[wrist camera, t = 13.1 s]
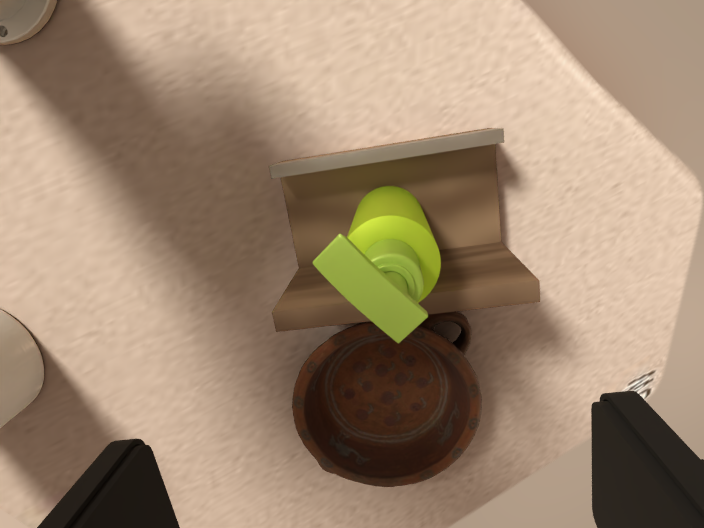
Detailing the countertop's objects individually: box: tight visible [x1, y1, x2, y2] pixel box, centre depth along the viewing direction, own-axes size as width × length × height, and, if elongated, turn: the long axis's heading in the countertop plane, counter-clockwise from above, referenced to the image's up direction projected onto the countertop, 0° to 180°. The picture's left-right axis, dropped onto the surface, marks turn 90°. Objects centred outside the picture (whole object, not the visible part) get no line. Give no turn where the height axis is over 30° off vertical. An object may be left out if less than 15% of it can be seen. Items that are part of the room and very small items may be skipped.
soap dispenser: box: [313, 186, 441, 343], centre depth 29 cm, size 6×7×20 cm
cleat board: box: [269, 128, 540, 332], centre depth 34 cm, size 11×18×12 cm, turn 99°
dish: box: [292, 311, 481, 487], centre depth 43 cm, size 18×22×5 cm
